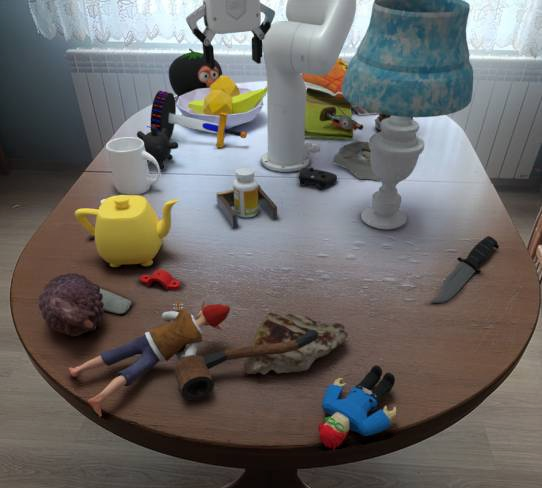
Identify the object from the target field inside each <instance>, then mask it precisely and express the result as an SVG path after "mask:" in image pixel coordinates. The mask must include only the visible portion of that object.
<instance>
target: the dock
mask: <svg viewBox="0 0 542 488" xmlns="http://www.w3.org/2000/svg"><path fill="white" fill-rule="evenodd" d="M216 203H217V207H218V209H220V212H221V213H222V215H223V216H224V217H225V219H226V220H227V221H228V223H229V224H230V226H231V227H232V228H233V229H237V228H238V215H237V214H236V213H235V210H234V209H233V208H232V206H235V204H234V188H233V189H228V190H227V189H226V190H223V191H217V192H216ZM258 204H260V206H261V208H263V209H264V211H265V212H266V213H267V215H269V217H270V218H271V219H272V220H277V219H278V206H277V205H276V203H275V202H274V201H273V200H272V199H271V198H270V197H269V195H268V194H267V193H266V192H265V191H264V189H262V187H261V185H260V184H258Z"/></svg>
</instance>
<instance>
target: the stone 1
mask: <svg viewBox="0 0 542 488" xmlns="http://www.w3.org/2000/svg"><path fill="white" fill-rule="evenodd" d="M100 293H101V294H102V295H103V298H102V302H103V303H104V306H103V308H102V309H103V311H104V312H108V313H112V314H116V315H123V314H125V313H127V312H128V311H129V310H130V307H131V306H132V305H133V302H132V301H131V300H129V299H127V298H125V297H123V296H120V295H118V294H116V293H113V292H111V291H109V290H106V289H104V288H101V287H100Z"/></svg>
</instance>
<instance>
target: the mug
mask: <svg viewBox="0 0 542 488" xmlns="http://www.w3.org/2000/svg"><path fill="white" fill-rule="evenodd" d="M105 149H106V154H107V158H108V161H109V165H110V166H109V167H110V170H111V175H112V178H113V183H114V186H115V189H116V191H117V192H118V194H120V195H139V196H140V195H143V194H145V193H147V192H148V191H149V190H150V189H151V186H152V185H155V184H157V183H158V182H159V181H160V178H161V170H160V168H159V165H158V162H157V161H156V159H155V158H154V157H153V156H152V155H150V154H149V153H147V152H146V151H145V147H144V142H143V141H142V140H141V139H140V138H138V137H134V136H123V137H118V138H113V139H111V140H109V141H108V142H107V143H106V145H105ZM147 160H149V162H152V164H154V165H155V166H156V169H157V172H158V173H157V176H156V177H154V178H153V177H151V175H150V170H149V162H148V163H147Z"/></svg>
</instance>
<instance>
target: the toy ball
mask: <svg viewBox="0 0 542 488" xmlns="http://www.w3.org/2000/svg"><path fill="white" fill-rule="evenodd" d="M150 127H151V128H150V131H149V132H147V133H146V134H145V133H144V132H143V131H141V130H138V131H137V132H136V138H139V139H141V140H142V141H143V142H144V147H145V151H146V152H147V153H149V154H150V155H152V156H153V157H154V158H155V159H156V161H157V162H158V165H159V168H160V171H163V170H165V168H166V166H165V163H164V162H165V161H172V160H173V155H172V154H171V153H172V150H177V149H179V144H178V142H176V141H171V140H169V139H168V138H167V137H166V135H167V133H168V130H167V129H166V128H162V130H161V132H159V131H157V127H156V126H155V125H152V126H151V125H150ZM149 162H150V161H149V160H147V163H148V164H149Z"/></svg>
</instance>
